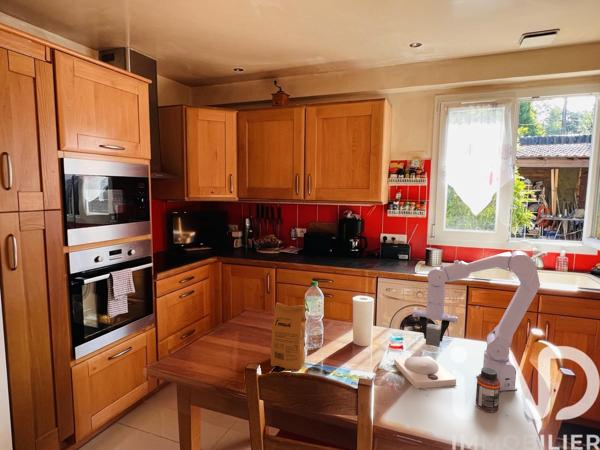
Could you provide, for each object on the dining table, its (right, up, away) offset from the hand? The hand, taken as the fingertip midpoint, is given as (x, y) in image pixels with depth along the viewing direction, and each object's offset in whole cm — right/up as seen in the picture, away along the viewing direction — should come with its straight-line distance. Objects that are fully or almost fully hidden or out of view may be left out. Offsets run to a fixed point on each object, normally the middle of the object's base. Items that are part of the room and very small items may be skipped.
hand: (433, 339), depth 126 cm
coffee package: (-51, -10, +3) cm, 52 cm away
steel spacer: (0, -1, 0) cm, 1 cm away
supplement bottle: (+8, -13, -21) cm, 26 cm away
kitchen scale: (-5, -11, -3) cm, 12 cm away
